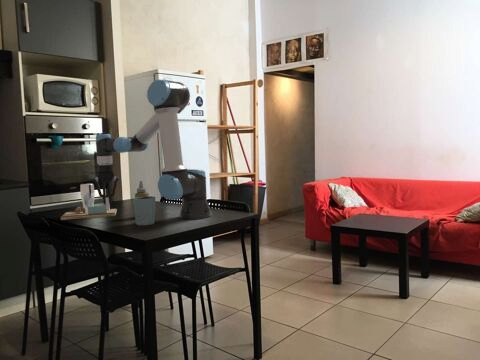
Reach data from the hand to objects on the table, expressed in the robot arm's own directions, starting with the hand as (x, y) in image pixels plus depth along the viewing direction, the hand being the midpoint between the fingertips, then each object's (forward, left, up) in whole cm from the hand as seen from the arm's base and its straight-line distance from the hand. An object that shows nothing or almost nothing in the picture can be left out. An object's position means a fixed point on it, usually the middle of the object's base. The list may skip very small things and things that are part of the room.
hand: (108, 210), depth 218 cm
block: (0, +5, -2) cm, 5 cm away
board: (+6, +10, -3) cm, 12 cm away
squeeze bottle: (-12, -17, -3) cm, 21 cm away
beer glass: (+8, +10, -2) cm, 13 cm away
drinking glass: (-30, -18, -3) cm, 35 cm away
